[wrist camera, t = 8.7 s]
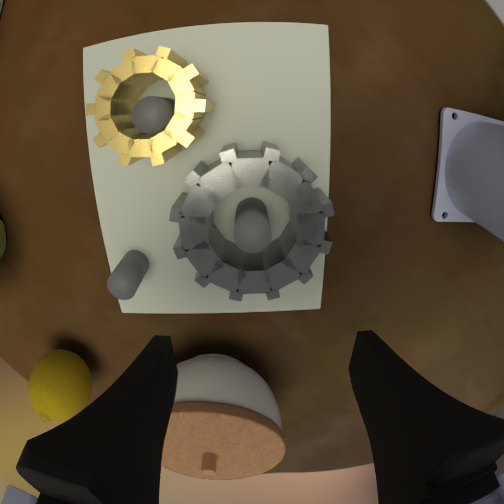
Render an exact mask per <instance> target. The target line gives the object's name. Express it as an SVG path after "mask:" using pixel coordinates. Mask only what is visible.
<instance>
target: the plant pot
mask: <svg viewBox="0 0 504 504" xmlns="http://www.w3.org/2000/svg"><path fill="white" fill-rule="evenodd" d="M5 248H6V232H5V227H4V223H3V222H2V221H1V219H0V259H1V257H2V256H3V254H4V252H5Z"/></svg>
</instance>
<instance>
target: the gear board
mask: <svg viewBox="0 0 504 504" xmlns="http://www.w3.org/2000/svg"><path fill="white" fill-rule="evenodd" d="M159 46H162V47H166V48H170V49H172V50H173V51H174V52H176V53H177V54H178V55H180V56H181V57H182V58H183V59H185V60H186V61H187V64H186V66H185V68H186V67H187V66H189V65H191V64H193V65H194V66H196V67H197V68H198V69H199V70H200V71H201V72H203V73H204V74H205V76H206V77H207V79H208V80H209V82H208V83H207V84H205V85H203V86H202V88H203V90H204V92H205V94H206V95H205V96H206V100H210V101H214V102H215V105H214V112H205V117H204V119H203V121H202V122H201V124H200V125H199V126H200V127H201V128H202V129H203V130H205V131H206V132H205V133H204V135H203V136H202V137H201V138H200V139H199V140H198V141H196V142H195V143H193V144H192V145H190V146H189V147H187V148H186V147H185V146H183V145H182V144H181V143H180V146H181V150H182V151H181V152H180V153H178V154H177V155H175V156H174V157H172V158H171V159H170V160H168V161H167V162H165V163H163V164H160V165H157V166H154V167H153V166H152V162H151V159H150V157H145V158H143V159H141V160H139V161H137V162H135V163H134V164H132V165H130V166H125V165H122V164H119V163H117V162H118V159H119V155H120V152H118V151H117V150H115V149H113V148H112V147H110V146H108V145H107V146H104V147H101V148H98V147H97V145H96V144H95V142H94V141H93V138H94V137H95V136H96V135H97V134H99V133H100V131H99V129H98V127H97V126H96V124H95V122H96V121H95V115H86V126H87V137H88V146H89V155H90V163H91V170H92V177H93V184H94V190H95V196H96V202H97V208H98V213H99V219H100V224H101V229H102V234H103V239H104V243H105V248H106V252H107V257H108V261H109V265H110V269H111V275H110V276H109V278H108V280H107V287H108V290H109V291H110V293H111V294H112V295H113V296H114V297H116V298H118V300H119V303H120V307H121V310H122V313H236V312H266V311H288V310H306V309H320V306H321V296H322V286H323V274H324V263H325V254H324V253H319V255H318V256H317V258H316V259H315V260H314V262H313V263H312V265H311V266H310V268H311V271H312V274H313V277H312V278H311V279H310V280H309V281H308V282H307V283H305V284H304V285H303V284H302V283H301V282H300V281H299V280H296V281H294V282H292V283H290V284H288V285H287V286H285V287H283V288H281V289H279V292H280V298H276V299H272V300H268V299H267V296H266V293H261V294H243V297H242V301H236V300H230V299H229V291H228V290H226V289H223V288H221V287H219V286H217V285H214V284H212V283H209V284H208V285H207V286H206V287H205V288H203V287H202V286H201V285H199V284H198V283H197V282H195V281H194V280H195V276H196V272H197V270H196V269H195V268H194V266H193V265H192V264H191V263H190V261H189V260H188V259H187V257H186V258H182V259H179V260H178V259H177V257H176V255H175V252H174V250H173V246H174V244H175V242H176V240H177V238H178V236H179V234H180V230H179V223H176V222H171V221H169V217H170V210H171V207H172V205H173V204H174V203H175V201H176V200H177V199H178V197H179V196H180V194H181V193H182V192H185V193H189V191H190V189H191V188H190V187H189V186H188V185H187V184H186V183H185V182H183V181H184V180H185V178H186V177H187V176H188V175H189V174H190V173H191V171H192V170H193V169H194V168H195V167H196V166H197V164H198V163H199V162H200V161H201V160H202V161H203V162H204V163H205V164H206V165H207V166H209V165H210V164H212V163H213V162H215V161H216V160H218V159H220V155H219V152H220V151H221V149H222V147H223V146H225V145H228V144H231V143H235V142H236V145H237V148H238V151H241V150H261V146H262V142H263V141H264V142H268V143H272V144H275V145H276V146H277V147H278V148H279V149H280V151H281V153H280V157H282V158H283V159H285V160H287V161H289V162H291V163H293V162H294V161H295V160H296V159H297V158H298V157H299V158H300V159H301V160H302V161H303V162H304V163H305V164H306V165H307V166H308V167H309V168H310V169H311V170H312V171H313V172H314V173H315V174H316V175H317V176H318V178H317V179H316V180H315V181H313V182H312V183H311V185H312V187H313V189H315V188H318V187H319V188H320V189H321V190H322V191H323V192H324V194H325V195H326V196H327V197H328V198H329V174H330V59H329V36H328V25H320V24H307V23H286V22H244V23H223V24H210V25H199V26H190V27H182V28H174V29H168V30H161V31H155V32H149V33H144V34H139V35H134V36H129V37H125V38H120V39H116V40H112V41H108V42H104V43H100V44H96V45H93V46H89V47H86V48H83V75H84V98H85V114H86V104H88V103H95V96H97V95H96V94H97V92H98V90H99V88H100V86H101V85H102V84H100V83H99V82H97V81H96V80H95V77H96V76H97V75H98V73H99V72H100V70H101V69H103V70H108V71H111V70H112V69H114V68H115V67H117V66H118V65H120V64H121V63H123V62H124V60H123V55H122V52H124V51H126V50H129V49H131V48H135V49H137V50H139V51H141V52H143V53H145V54H147V55H155V54H156V52H157V50H158V48H159ZM175 100H176V96H175V94H174V92H173V90H172V88H171V86H170V84H169V82H168V81H167V80H158V81H157V82H155V83H153V84H152V85H150V86H148V87H147V88H146V89H145V91H144V92H143V94H142V96H141V97H140V99H139V101H138V102H137V103H136V105H135V106H134V109H133V112H132V120H133V123H134V125H135V127H136V128H137V129H138V130H140V131H141V132H143V133H149V134H150V133H155V132H162V131H164V130H165V129H166V127H167V126H168V124H169V123H170V121H171V119H172V118H173V116H174V115H175ZM289 210H290V205H289V204H288V202H287V200H286V199H285V198H283V197H281V196H279V195H277V194H276V193H274V192H272V191H270V190H268V189H266V188H264V187H256V188H238V189H236V190H235V191H233V192H231V193H230V194H228V195H226V196H225V197H223V198H222V199H220V200H218V201H217V203H216V205H215V207H214V209H213V216H214V224H215V225H216V227H217V228H218V229H219V231H220V232H221V234H222V235H223V237H224V238H225V239H226V240H228V241H231V242H233V243H235V244H236V245H237V246H238V248H239V249H241V250H242V251H244V252H247V253H258V252H261V251H263V250H265V249H266V248H267V247H268V245H269V244H270V242H271V241H273V240H275V239H277V238H279V237H280V235H281V234H282V232H283V230H284V229H285V227H286V225H287V224H288V222H289ZM327 219H328V217H327V218H325V230H326V232H327Z"/></svg>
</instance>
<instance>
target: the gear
mask: <svg viewBox="0 0 504 504" xmlns="http://www.w3.org/2000/svg"><path fill="white" fill-rule="evenodd" d="M280 153H281V151H280V149H279V148H278V147H277V146H276V145H275V144H272V143H268V142H264V141H263V142H262V146H261V150H241V151H238V148H237V145H236V142H235V143H231V144H228V145H225V146H223V147H222V149H221V151H220V152H219V155H220V159H218V160H216V161H215V162H213V163H212V164H210V165H209V166H207V165H206V164H205V163H204V162H203V161H202V160H201V161H200V162H199V163H198V164H197V166H196V167H195V168H194V169H193V170H192V171H191V173H190V174H189V175H188V176H187V177H186V178H185V180H184V181H183V182H185V183H186V184H187V185H188V186H189V187H190V188H191V189H190V191H189V193H185V192H182V193H181V194H180V196H179V197H178V199H177V200H176V201H175V203H174V204H173V205H172V207H171V210H170V217H169V221H171V222H176V223H179V230H180V234H179V236H178V238H177V240H176V242H175V244H174V246H173V250H174V252H175V255H176V257H177V259H178V260H179V259H182V258H186V257H187V259H188V260H189V261H190V263H191V264H192V265H193V266H194V268H195V269H196V270H197V272H196V276H195V280H194V281H195V282H197V283H198V284H199V285H201V286H202V287H203V288H205V287H206V286H207V285H208V284H209V283H212V284H214V285H217V286H219V287H221V288H223V289H226V290H228V291H229V299H230V300H236V301H242V297H243V294H261V293H266V296H267V299H268V300H272V299H276V298H280V292H279V289H281V288H283V287H285V286H287V285H288V284H290V283H292V282H294V281H296V280H299V281H300V282H301V283H302V284H303V285H304V284H305V283H307V282H308V281H309V280H310V279H311V278H312V277H313V274H312V271H311V268H310V266H311V265H312V263H313V262H314V260H315V259H316V258H317V256H318V255H319V253H324V254H328V255H329V252H330V249H331V246H332V244H333V242H332V240H331V239H330V237H329V235H328V234H327V232H326V230H325V218H327V217H331V216H334V215H335V214H334V209H333V204H332V202H331V201H330V199H329V198H328V197H327V196H326V195H325V194H324V192H323V191H322V190H321V189H320V188H319V187H318V188H315V189H313V187H312V185H311V183H312V182H313V181H315V180H316V179H317V178H318V176H317V175H316V174H315V173H314V172H313V171H312V170H311V169H310V168H309V167H308V166H307V165H306V164H305V163H304V162H303V161H302V160H301V159H300V158H299V157H298V158H297V159H296V160H295V161H294V162H293V163H291V162H289V161H287V160H285V159H283V158H282V157H280ZM256 187H264V188H266V189H268V190H270V191H272V192H274V193H276V194H277V195H279V196H281V197H283V198H285V199H286V200H287V202H288V204H289V205H290V210H289V222H288V224H287V225H286V227H285V229H284V230H283V232H282V234H281V235H280V237H279V238H277V239H275V240H273V241H271V242H270V244H269V245H268V247H267V248H266V249H265V250H263V251H261V252H258V253H247V252H244V251H242V250H241V249H239V248H238V246H237V245H236V244H235V243H233V242H231V241H228V240H226V239H225V238H224V237H223V235H222V234H221V232H220V231H219V229H218V228H217V227H216V225H215V224H214V216H213V209H214V207H215V205H216V203H217V201H218V200H220V199H222V198H223V197H225V196H226V195H228V194H230V193H231V192H233V191H235V190H236V189H238V188H256Z"/></svg>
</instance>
